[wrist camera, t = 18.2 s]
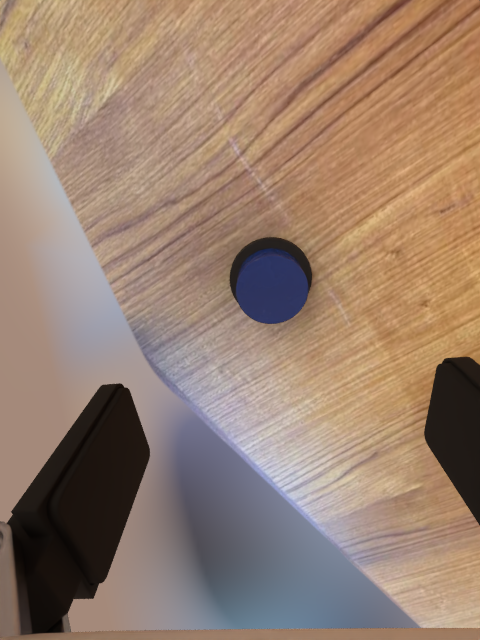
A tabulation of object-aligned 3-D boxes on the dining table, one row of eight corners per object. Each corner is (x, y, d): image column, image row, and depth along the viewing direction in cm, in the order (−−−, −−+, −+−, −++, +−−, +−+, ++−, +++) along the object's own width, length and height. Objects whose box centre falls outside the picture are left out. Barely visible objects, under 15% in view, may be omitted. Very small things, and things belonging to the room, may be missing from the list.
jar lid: (303, 244, 21) (308, 251, 19) (305, 308, 23) (310, 321, 21) (234, 251, 21) (231, 259, 19) (241, 313, 24) (240, 326, 21)
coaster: (223, 304, 24) (222, 307, 23) (240, 228, 21) (240, 229, 21) (296, 321, 24) (297, 325, 24) (322, 248, 22) (323, 250, 21)
